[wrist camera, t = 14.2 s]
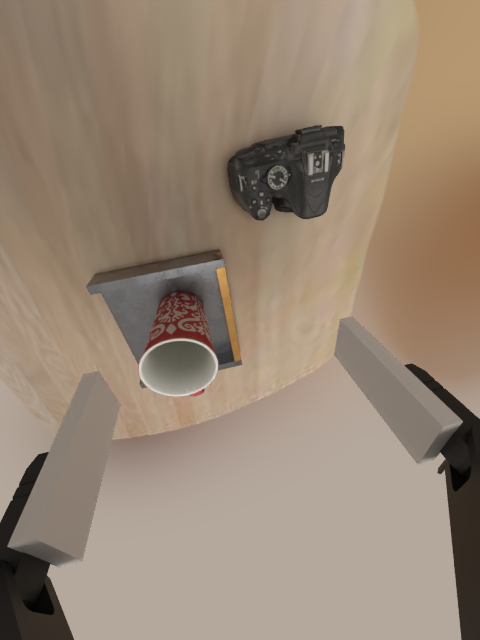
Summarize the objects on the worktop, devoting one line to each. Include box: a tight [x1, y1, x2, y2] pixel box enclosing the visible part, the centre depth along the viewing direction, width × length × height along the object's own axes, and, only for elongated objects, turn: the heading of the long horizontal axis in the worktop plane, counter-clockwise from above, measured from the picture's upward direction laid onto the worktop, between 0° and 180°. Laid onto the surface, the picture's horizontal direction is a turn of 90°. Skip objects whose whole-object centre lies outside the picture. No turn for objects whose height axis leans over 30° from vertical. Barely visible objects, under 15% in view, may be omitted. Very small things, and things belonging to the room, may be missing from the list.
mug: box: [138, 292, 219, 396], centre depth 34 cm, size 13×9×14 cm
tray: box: [86, 250, 242, 388], centre depth 39 cm, size 20×18×4 cm
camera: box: [228, 125, 345, 220], centre depth 28 cm, size 13×10×10 cm
